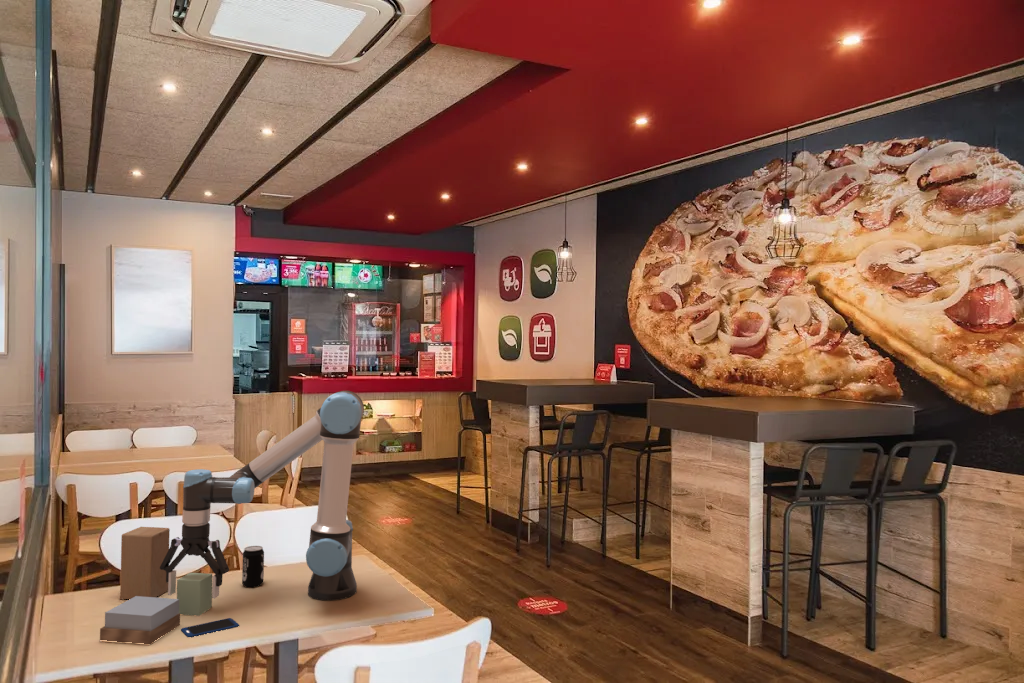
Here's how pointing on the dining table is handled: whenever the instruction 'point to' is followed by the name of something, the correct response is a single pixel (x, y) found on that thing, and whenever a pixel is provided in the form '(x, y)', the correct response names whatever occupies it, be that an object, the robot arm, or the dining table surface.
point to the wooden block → (143, 562)
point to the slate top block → (142, 613)
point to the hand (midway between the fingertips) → (193, 595)
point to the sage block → (194, 593)
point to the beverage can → (253, 566)
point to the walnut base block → (139, 632)
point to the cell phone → (209, 627)
